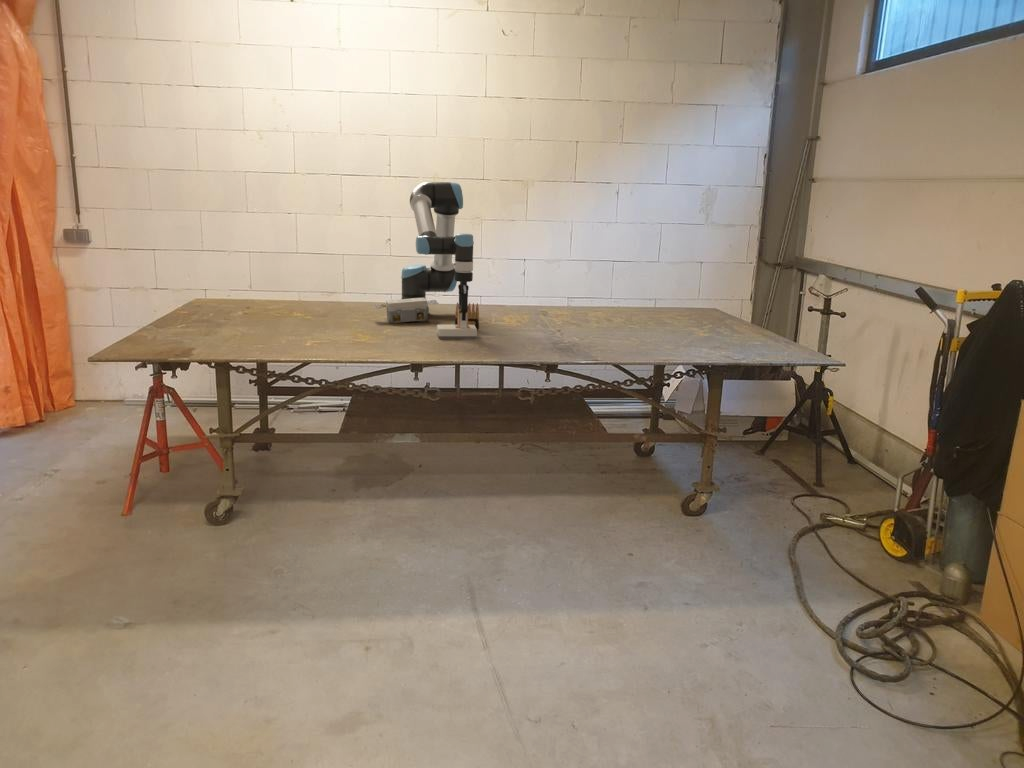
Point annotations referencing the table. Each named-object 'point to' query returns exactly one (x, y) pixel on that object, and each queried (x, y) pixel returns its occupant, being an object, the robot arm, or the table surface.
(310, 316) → the table surface
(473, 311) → the ammunition clip
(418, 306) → the electrical outlet
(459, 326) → the copper brown rectangular block
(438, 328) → the socket plate
